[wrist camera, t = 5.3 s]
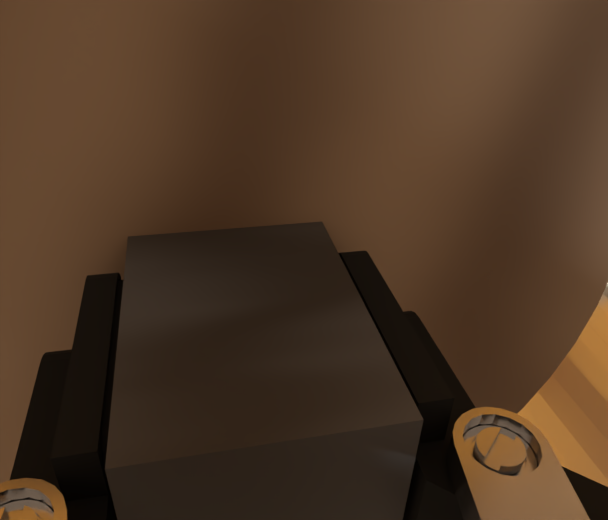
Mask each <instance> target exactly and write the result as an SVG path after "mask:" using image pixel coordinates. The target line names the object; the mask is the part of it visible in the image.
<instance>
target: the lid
mask: <svg viewBox="0 0 608 520" xmlns="http://www.w3.org/2000/svg"><path fill="white" fill-rule="evenodd" d="M353 251H367V252H368V253H369V255H370V257H371V258H372V260H373V262H374V263H375V265H376V267H377V268H378V270H379V272H380V273H381V275H382V277H383V279H384V280H385V282H386V284H387V285H388V287H389V289H390V290H391V292H392V294H393V295H394V297H395V299H396V300H397V302H398V304H399V305H400V307H401V309H402V310H403V312H404V311H413V312H415V313H416V314H417V315H418V317H419V318H420V319H421V321H422V323H423V324H424V326H425V327H426V329H427V331H428V332H429V334H430V335H431V337H432V339H433V340H434V342H435V343H436V345H437V347H438V348H439V350H440V351H441V353H442V354H443V356H444V358H445V359H446V361H447V362H448V364H449V366H450V367H451V369H452V370H453V372H454V374H455V375H456V377H457V378H458V380H459V382H460V383H461V385H462V386H463V388H464V390H465V391H466V393H467V394H468V396H469V398H470V399H471V401H472V402H473V404H474V406H475V407H476V408H480V407H494V408H501V409H505V410H508V411H511V412H514V413H516V414H517V413H518V412H520V411H521V410H522V409H523V408H524V407H525V405H526V404H527V403H528V402H529V401H530V400H531V399H532V398H533V396H534V395H535V394H536V393H537V392H538V391H539V390H540V388H541V387H542V386H543V385H544V384H545V383H546V382H547V381H548V379H549V378H550V377H551V376H552V374H553V373H554V372H555V370H556V369H557V368H558V366H559V365H560V364H561V362H562V361H563V359H564V358H565V357H566V355H567V354H568V353H569V351H570V350H571V348H572V347H573V346H574V344H575V343H576V341H577V340H578V338H579V336H580V334H581V333H582V331H583V329H584V328H585V326H586V324H587V323H588V321H589V319H590V317H591V316H592V314H593V312H594V311H595V309H596V307H597V305H598V303H599V301H600V299H601V297H602V294H603V292H604V290H605V288H606V286H607V283H608V0H0V483H3V482H6V481H8V480H10V476H11V473H12V469H13V465H14V461H15V457H16V453H17V450H18V446H19V442H20V438H21V434H22V430H23V427H24V423H25V419H26V415H27V411H28V407H29V404H30V400H31V396H32V392H33V388H34V384H35V381H36V377H37V373H38V369H39V365H40V362H41V359H42V356H43V355H44V354H45V353H46V352H53V351H62V350H71V349H72V346H73V341H74V336H75V331H76V326H77V321H78V315H79V310H80V305H81V300H82V295H83V290H84V285H85V280H86V277H87V276H88V275H97V274H108V273H119V274H120V276H121V280H123V290H122V300H121V310H120V321H119V331H118V341H117V351H116V361H115V371H114V382H113V392H112V402H111V412H110V422H109V432H108V442H107V453H106V463H105V472H106V476H107V480H108V484H109V488H110V492H111V496H112V500H113V504H114V508H115V512H116V516H117V520H403V515H404V511H405V506H406V501H407V496H408V491H409V487H410V482H411V477H412V472H413V468H414V463H415V458H416V453H417V448H418V444H419V439H420V434H421V429H422V425H423V418H422V416H421V414H420V412H419V410H418V408H417V406H416V404H415V402H414V400H413V398H412V396H411V394H410V392H409V390H408V388H407V386H406V384H405V383H404V381H403V379H402V377H401V375H400V373H399V371H398V369H397V367H396V365H395V363H394V361H393V359H392V357H391V355H390V353H389V351H388V349H387V347H386V345H385V343H384V341H383V340H382V338H381V336H380V334H379V332H378V330H377V328H376V326H375V324H374V322H373V320H372V318H371V316H370V314H369V312H368V310H367V308H366V306H365V304H364V302H363V300H362V298H361V297H360V295H359V293H358V291H357V289H356V287H355V285H354V283H353V281H352V279H351V277H350V275H349V273H348V271H347V269H346V267H345V265H344V263H343V261H342V259H341V257H340V255H339V254H338V253H342V252H353Z"/></svg>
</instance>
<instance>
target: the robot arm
mask: <svg viewBox="0 0 608 520" xmlns="http://www.w3.org/2000/svg"><path fill="white" fill-rule="evenodd" d="M338 254H339V255H340V257H341V259H342V261H343V263H344V265H345V267H346V269H347V271H348V273H349V275H350V277H351V279H352V281H353V283H354V285H355V287H356V289H357V291H358V293H359V295H360V297H361V298H362V300H363V302H364V304H365V306H366V308H367V310H368V312H369V314H370V316H371V318H372V320H373V322H374V324H375V326H376V328H377V330H378V332H379V334H380V336H381V338H382V340H383V341H384V343H385V345H386V347H387V349H388V351H389V353H390V355H391V357H392V359H393V361H394V363H395V365H396V367H397V369H398V371H399V373H400V375H401V377H402V379H403V381H404V383H405V384H406V386H407V388H408V390H409V392H410V394H411V396H412V398H413V400H414V402H415V404H416V406H417V408H418V410H419V412H420V414H421V416H422V418H423V425H422V429H421V434H420V439H419V444H418V448H417V453H416V458H415V463H414V468H413V472H412V477H411V482H410V487H409V491H408V496H407V501H406V506H405V511H404V515H403V520H608V283H607V286H606V288H605V290H604V292H603V294H602V297H601V299H600V301H599V303H598V305H597V307H596V309H595V311H594V312H593V314H592V316H591V317H590V319H589V321H588V323H587V324H586V326H585V328H584V329H583V331H582V333H581V334H580V336H579V338H578V340H577V341H576V343H575V344H574V346H573V347H572V348H571V350H570V351H569V353H568V354H567V355H566V357H565V358H564V359H563V361H562V362H561V364H560V365H559V366H558V368H557V369H556V370H555V372H554V373H553V374H552V376H551V377H550V378H549V379H548V381H547V382H546V383H545V384H544V385H543V386H542V387H541V388H540V390H539V391H538V392H537V393H536V394H535V395H534V396H533V398H532V399H531V400H530V401H529V402H528V403H527V404H526V405H525V407H524V408H523V409H522V410H521V411H520V412H518V413H517V414H516V413H514V412H511V411H508V410H505V409H501V408H494V407H480V408H476V407H475V406H474V404H473V402H472V401H471V399H470V398H469V396H468V394H467V393H466V391H465V390H464V388H463V386H462V385H461V383H460V382H459V380H458V378H457V377H456V375H455V374H454V372H453V370H452V369H451V367H450V366H449V364H448V362H447V361H446V359H445V358H444V356H443V354H442V353H441V351H440V350H439V348H438V347H437V345H436V343H435V342H434V340H433V339H432V337H431V335H430V334H429V332H428V331H427V329H426V327H425V326H424V324H423V323H422V321H421V319H420V318H419V317H418V315H417V314H416V313H415V312H413V311H404V312H403V310H402V309H401V307H400V305H399V304H398V302H397V300H396V299H395V297H394V295H393V294H392V292H391V290H390V289H389V287H388V285H387V284H386V282H385V280H384V279H383V277H382V275H381V273H380V272H379V270H378V268H377V267H376V265H375V263H374V262H373V260H372V258H371V257H370V255H369V253H368V252H367V251H353V252H342V253H338ZM122 290H123V280H121V276H120V274H119V273H108V274H97V275H88V276H87V277H86V280H85V285H84V290H83V295H82V300H81V305H80V310H79V315H78V321H77V326H76V331H75V336H74V341H73V346H72V349H71V350H62V351H53V352H46V353H45V354H44V355H43V356H42V359H41V362H40V365H39V369H38V373H37V377H36V381H35V384H34V388H33V392H32V396H31V400H30V404H29V407H28V411H27V415H26V419H25V423H24V427H23V430H22V434H21V438H20V442H19V446H18V450H17V453H16V457H15V461H14V465H13V469H12V473H11V476H10V480H8V481H6V482H3V483H0V520H117V516H116V512H115V508H114V504H113V500H112V496H111V492H110V488H109V484H108V480H107V476H106V472H105V463H106V453H107V442H108V432H109V422H110V412H111V402H112V392H113V382H114V371H115V361H116V351H117V341H118V331H119V321H120V310H121V300H122Z"/></svg>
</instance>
